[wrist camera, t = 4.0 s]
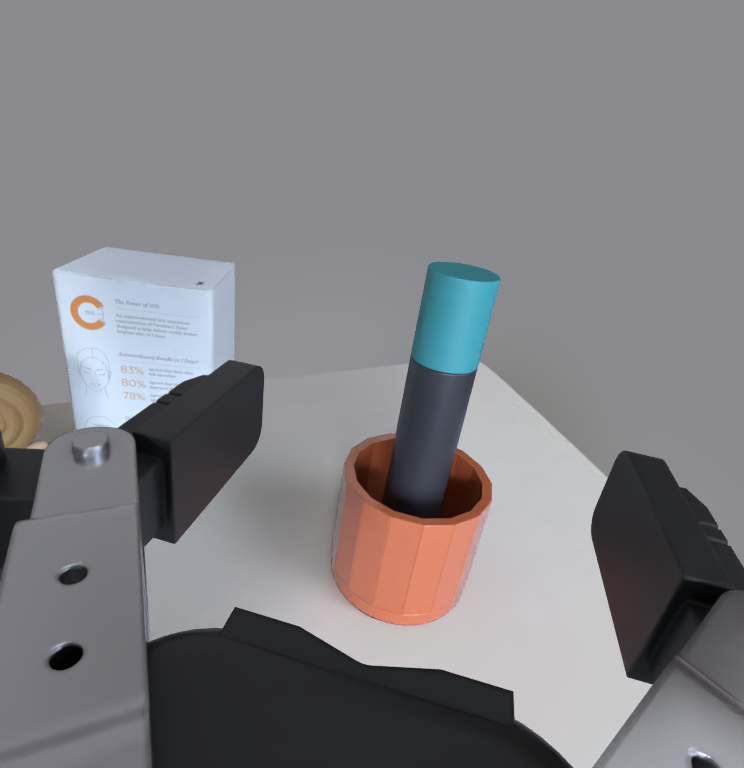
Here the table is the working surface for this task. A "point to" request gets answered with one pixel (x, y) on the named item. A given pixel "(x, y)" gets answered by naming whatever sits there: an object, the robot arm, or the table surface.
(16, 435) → the snail figurine
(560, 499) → the table surface
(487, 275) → the marker pen
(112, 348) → the small box
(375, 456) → the pen cup
